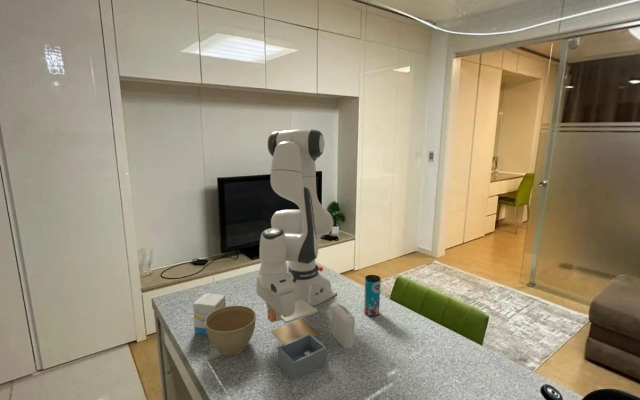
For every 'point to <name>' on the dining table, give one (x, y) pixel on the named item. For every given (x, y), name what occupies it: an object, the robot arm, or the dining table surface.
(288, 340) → the mat
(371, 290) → the beverage can
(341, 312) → the photo printer
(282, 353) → the tub
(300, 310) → the lid
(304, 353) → the part
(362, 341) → the dining table surface
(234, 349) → the planter bowl
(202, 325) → the ink box
